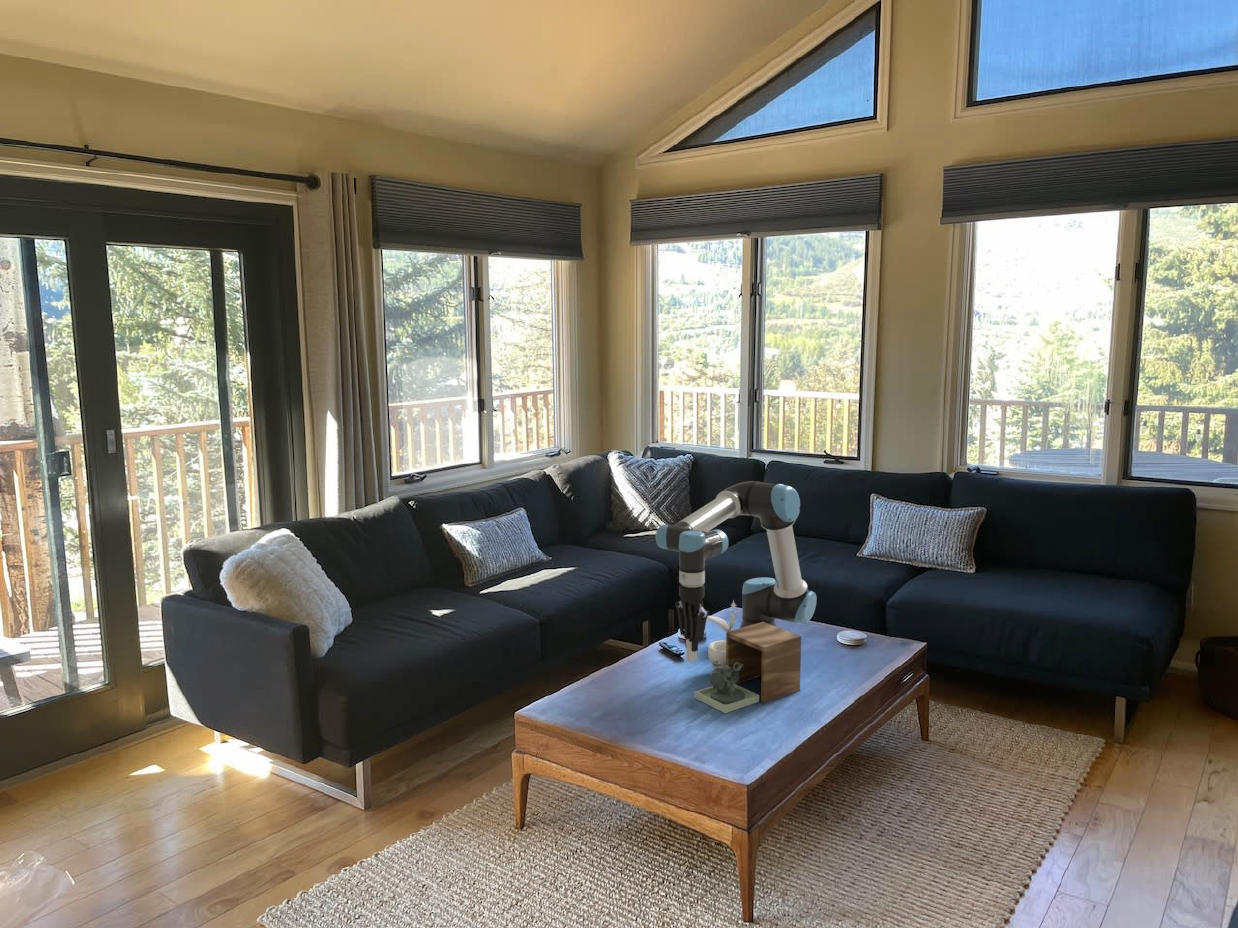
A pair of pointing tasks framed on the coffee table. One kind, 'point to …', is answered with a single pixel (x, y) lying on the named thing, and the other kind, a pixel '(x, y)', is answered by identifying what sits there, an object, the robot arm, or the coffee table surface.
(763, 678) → the shelf
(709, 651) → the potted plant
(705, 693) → the tray
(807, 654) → the coffee table surface
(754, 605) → the robot arm
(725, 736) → the coffee table surface
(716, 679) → the figurine
